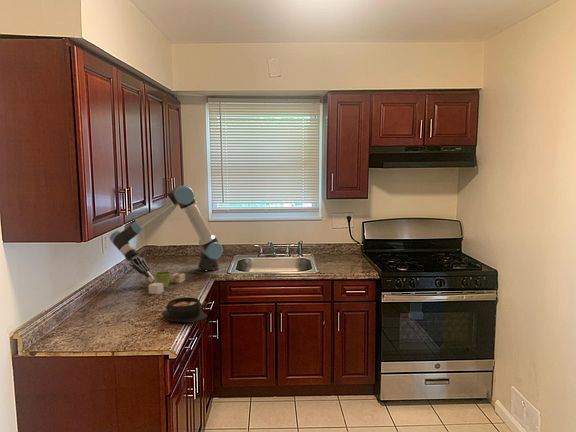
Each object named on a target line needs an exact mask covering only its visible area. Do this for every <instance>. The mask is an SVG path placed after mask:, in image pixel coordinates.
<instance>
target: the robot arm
mask: <svg viewBox="0 0 576 432" xmlns="http://www.w3.org/2000/svg"><path fill="white" fill-rule="evenodd" d="M166 194H167V198H166V205H165V206H164V207H162V208H160V209H158V210H155V211H153V212H151V213H149V214H147V215H145V216H143V217H141V218H139V219H137V220H134V221H132V220H131V221H132V222H130V221H129V222H130V223H128V222H127V223H128V224H125V225H124V228H123V230H122V231H119V230H116V231H114V232H113V233H111V235H110V236H109V241H111V243H112V244H113V245H114V246H115V248H116V249H117V250H118V251H119V252H120V253H121V254H122V255H123V256H124V258H125V259H126V260H127V261H129V263H128V266H131V267H132V268H133V269H134V270H135V271H136V272H138V274H140V275H142V276H145V277H146V278H147V279H148V280H149V281H150V283H154V281H155V278H156V277H155V276H153V274H152V273H151V272H150V270H151V268H150V267H149V265H148V263H147V261H146V260H145V258H144V257H140V255H139V253H138V251H137V250H136V249H135V248H134V246H133V245H132V244H131V243H130V242H129V241H131V240H132V239H134V238H135V237H136V236H137V235H139V234H140V233H141V232H142V231H143V230H144V229H143V227H145V226H146V225H147V224H149V223H150V222H151V221H153V220H155V219H156V218H157V217H159V216H160V215H162V214H163V213H165V212H166V211H167V210H168V209H170V208H171V207H175V206H176V205H178V206H179V208H180V209H181V210H183V211H184V213H185V215H186V217H187V218H188V220H189V222H190V223H191V225H192V227H193V229H194V231H195V233H196V235H197V236H198V241H199V242H198V243H199V246H198V247H199V260H198V263H197V270H198V269H199V270H214V269H218V268H219V269H220V265H219V262H218V258H220V257H221V256H222V254H223V252H224V249H223V246H222V244H221V243H220V242H219V240H218V239H217V237H216V235H213V234H212V232H211V231H210V227H208V224H207V223H206V221H205V219H204V217H203V215H202V212H201V211H200V209H199V208H198V206H197V205H198V204H197V199H196V197H195V193H194V191H193V189H192V188H191V187H190V186H187V185H184V184H183V185H181V184H178V185H177V186H175V187H174V188H172V189H171V190H170V191H169V192H167V193H166ZM219 269H218V270H219ZM199 270H198V271H199ZM214 271H215V270H214Z"/></svg>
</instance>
